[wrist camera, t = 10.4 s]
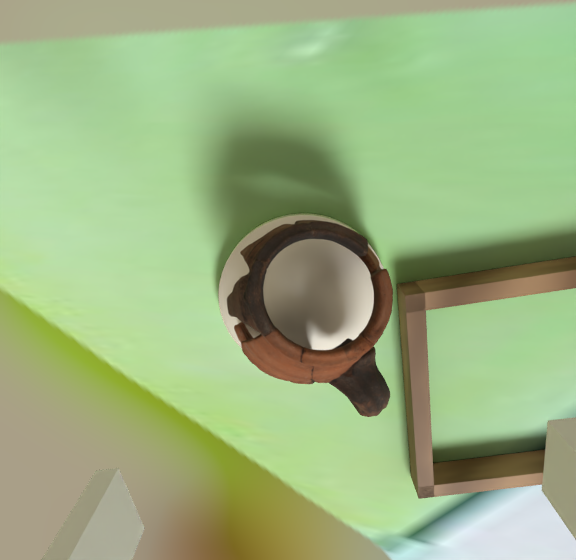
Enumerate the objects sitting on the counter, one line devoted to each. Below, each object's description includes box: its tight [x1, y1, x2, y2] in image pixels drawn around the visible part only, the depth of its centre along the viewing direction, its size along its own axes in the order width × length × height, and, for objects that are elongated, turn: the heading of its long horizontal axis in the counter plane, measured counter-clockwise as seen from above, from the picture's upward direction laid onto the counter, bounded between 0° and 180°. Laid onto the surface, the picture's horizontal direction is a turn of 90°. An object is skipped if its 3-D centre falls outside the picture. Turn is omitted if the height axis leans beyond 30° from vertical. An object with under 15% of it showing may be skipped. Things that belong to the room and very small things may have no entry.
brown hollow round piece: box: [227, 220, 393, 417], centre depth 22 cm, size 12×10×8 cm
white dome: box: [218, 213, 384, 350], centre depth 25 cm, size 11×11×1 cm
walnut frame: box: [397, 256, 576, 498], centre depth 26 cm, size 22×17×2 cm
